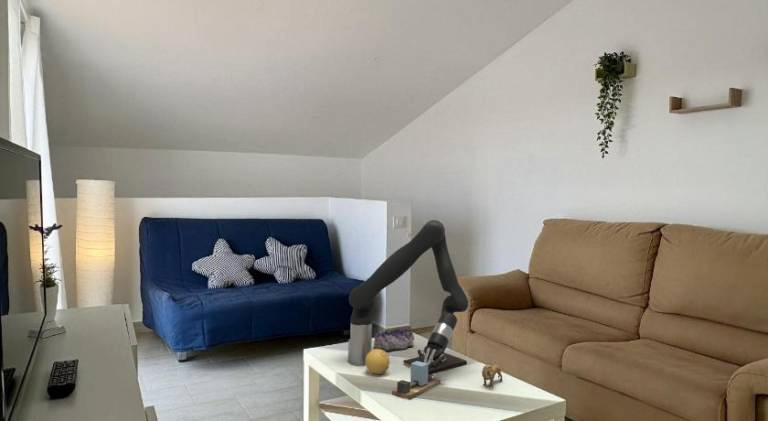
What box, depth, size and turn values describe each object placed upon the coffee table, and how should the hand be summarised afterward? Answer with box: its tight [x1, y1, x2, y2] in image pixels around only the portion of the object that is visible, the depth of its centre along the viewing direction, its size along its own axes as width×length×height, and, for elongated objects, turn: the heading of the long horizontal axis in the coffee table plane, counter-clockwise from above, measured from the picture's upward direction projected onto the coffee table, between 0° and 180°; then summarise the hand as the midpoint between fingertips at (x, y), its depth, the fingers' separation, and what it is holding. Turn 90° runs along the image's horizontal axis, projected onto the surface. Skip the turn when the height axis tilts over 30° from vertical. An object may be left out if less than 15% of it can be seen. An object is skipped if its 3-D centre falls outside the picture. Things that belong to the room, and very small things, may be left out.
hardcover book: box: [402, 352, 468, 375], centre depth 238 cm, size 16×23×2 cm
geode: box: [373, 328, 415, 352], centre depth 261 cm, size 20×12×10 cm, turn 121°
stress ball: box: [365, 348, 391, 375], centre depth 225 cm, size 10×10×10 cm
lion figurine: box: [481, 364, 503, 388], centre depth 216 cm, size 15×5×9 cm, turn 149°
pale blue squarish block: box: [409, 361, 428, 386], centre depth 210 cm, size 5×4×7 cm
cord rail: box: [391, 374, 442, 401], centre depth 209 cm, size 8×21×5 cm, turn 142°
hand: (422, 375), depth 212 cm, fingers closed
